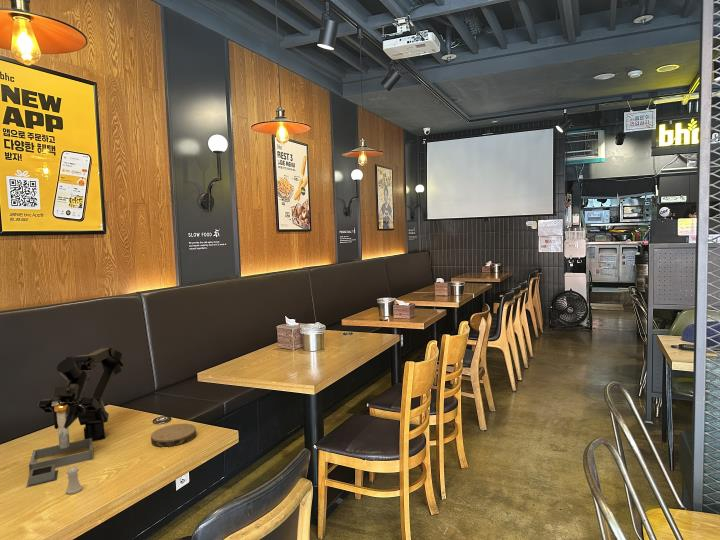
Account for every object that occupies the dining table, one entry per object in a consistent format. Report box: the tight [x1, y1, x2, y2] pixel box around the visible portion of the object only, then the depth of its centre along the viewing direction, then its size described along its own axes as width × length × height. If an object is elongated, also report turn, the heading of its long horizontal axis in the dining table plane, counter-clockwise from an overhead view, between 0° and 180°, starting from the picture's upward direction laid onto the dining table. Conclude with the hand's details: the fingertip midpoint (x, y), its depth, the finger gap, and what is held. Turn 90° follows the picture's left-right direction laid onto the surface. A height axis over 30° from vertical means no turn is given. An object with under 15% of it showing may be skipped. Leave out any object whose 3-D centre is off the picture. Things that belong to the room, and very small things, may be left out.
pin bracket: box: [25, 464, 59, 488], centre depth 151 cm, size 8×8×4 cm
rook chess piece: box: [65, 465, 83, 495], centre depth 143 cm, size 4×4×8 cm
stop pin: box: [54, 404, 71, 449], centre depth 164 cm, size 4×4×14 cm
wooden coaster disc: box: [150, 423, 197, 449], centre depth 181 cm, size 16×16×3 cm
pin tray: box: [28, 438, 94, 471], centre depth 165 cm, size 18×13×4 cm
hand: (60, 428), depth 162 cm, fingers closed on stop pin, 3 cm apart
